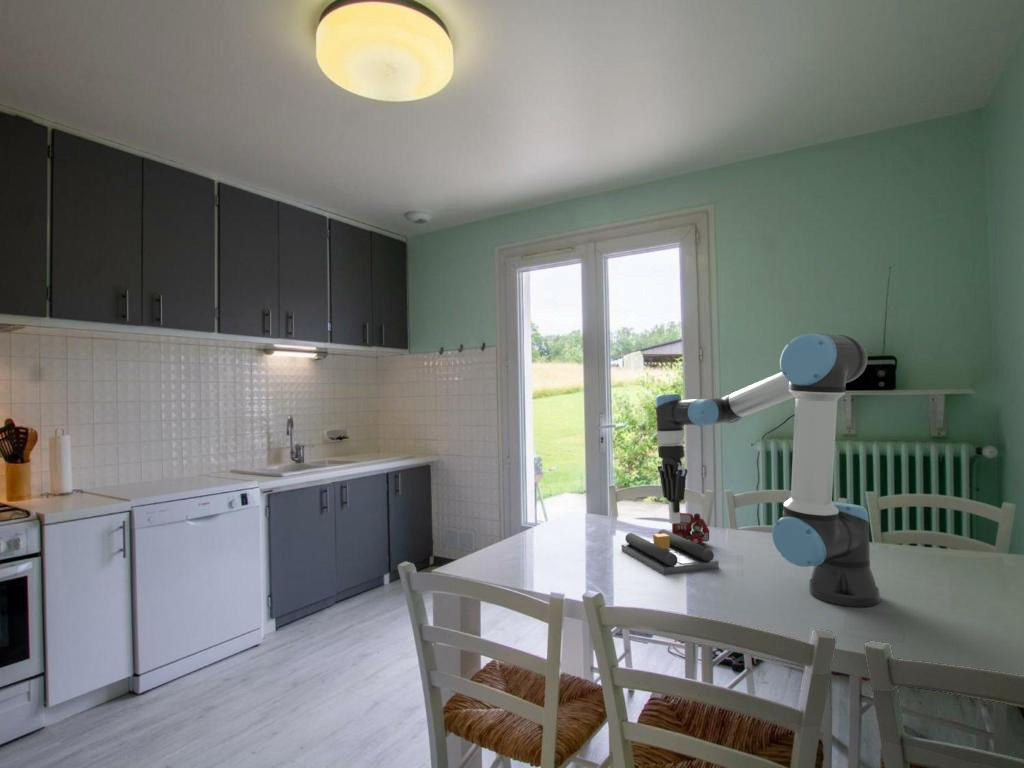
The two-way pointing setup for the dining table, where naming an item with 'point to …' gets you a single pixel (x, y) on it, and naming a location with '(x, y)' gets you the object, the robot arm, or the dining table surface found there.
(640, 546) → the dark grey cylinder rod
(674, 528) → the toy fire truck
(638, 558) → the panel
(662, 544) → the tan cardboard-colored block
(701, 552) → the dark grey cylindrical rod
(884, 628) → the dining table surface
